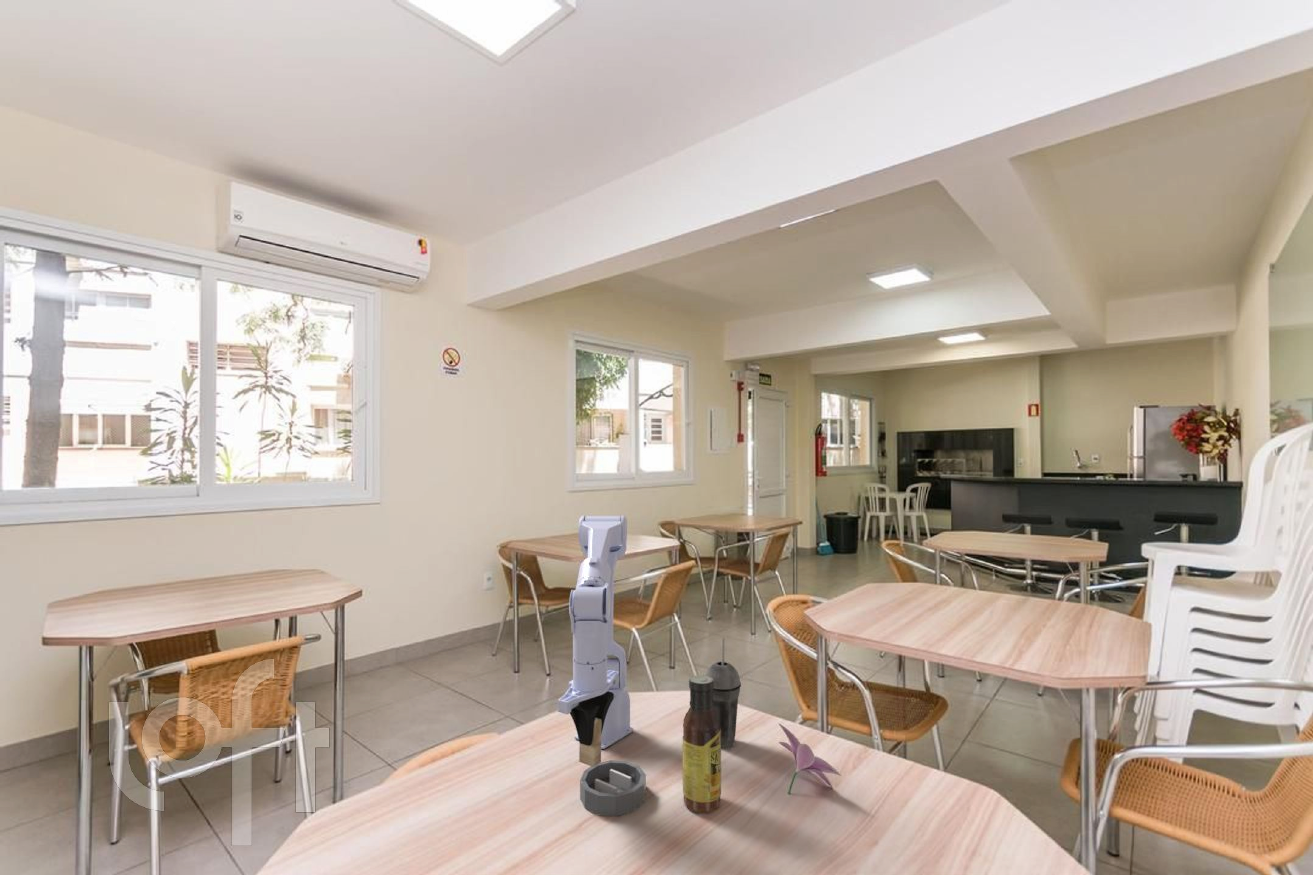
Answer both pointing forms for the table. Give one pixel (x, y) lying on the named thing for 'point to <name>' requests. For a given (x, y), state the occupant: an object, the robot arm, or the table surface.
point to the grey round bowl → (613, 788)
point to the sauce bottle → (701, 748)
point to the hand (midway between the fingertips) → (590, 740)
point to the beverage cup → (725, 698)
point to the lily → (807, 758)
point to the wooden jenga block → (592, 747)
